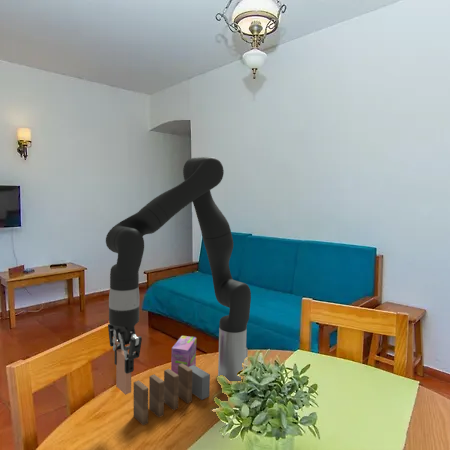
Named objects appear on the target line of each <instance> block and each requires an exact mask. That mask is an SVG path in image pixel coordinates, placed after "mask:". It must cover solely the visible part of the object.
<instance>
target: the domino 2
mask: <svg viewBox="0 0 450 450" xmlns="http://www.w3.org/2000/svg"><path fill="white" fill-rule="evenodd" d="M148 384H149V385H148V410H149V411H150V412H152V413H153V414H154V415H155V416H156V417H158V418H161V417H162V416H163V417H164V415H165V413H164V412H165V410H164V409H165V407H164V406H165V403H164V379H162V378H160V377H159V376H157V375H156V374H151V375H149V383H148Z"/></svg>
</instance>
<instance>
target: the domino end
mask: <svg viewBox="0 0 450 450" xmlns="http://www.w3.org/2000/svg"><path fill="white" fill-rule="evenodd" d="M128 354H129V352H128ZM115 366H116V367H115V369H116V370H115V371H116V373H115V375H116V376H115V377H116V382H115V383H116V388H118V389H119V390H120V391H121V392H122V393H123V394H124V395H126V396H127V395H128V394H131V393H132V372H130V373H128V374H127V373H125V356H124V351H123V350H122V349H119V350H117V365H115Z"/></svg>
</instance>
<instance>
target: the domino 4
mask: <svg viewBox="0 0 450 450" xmlns="http://www.w3.org/2000/svg"><path fill="white" fill-rule="evenodd" d="M178 375H179V388H178V398H179V399H181V400H182V401H184V402H185V403H186V404H190V403H191V402H192V401H193V393H192V369H191V368H189V367H187V366H186V365H184V364H183V363H182V364H179V365H178Z"/></svg>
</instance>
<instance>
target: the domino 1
mask: <svg viewBox="0 0 450 450" xmlns="http://www.w3.org/2000/svg"><path fill="white" fill-rule="evenodd" d="M133 417H134V419H135V420H136V421H137V422H138V423H140V424H141V425H142V426H145V425H147V424H149V386H148V385H145V384H144V383H143V382H142V381H141V380H136V381H133Z"/></svg>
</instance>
